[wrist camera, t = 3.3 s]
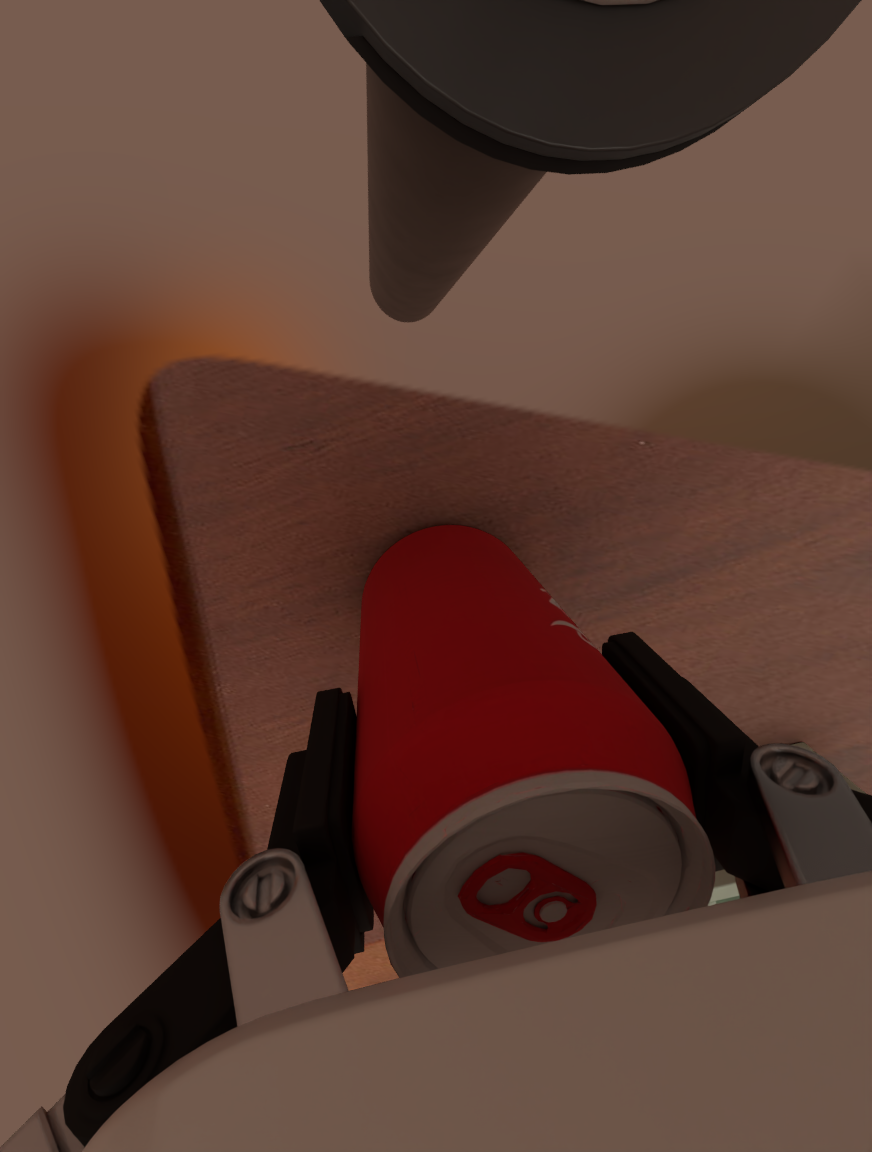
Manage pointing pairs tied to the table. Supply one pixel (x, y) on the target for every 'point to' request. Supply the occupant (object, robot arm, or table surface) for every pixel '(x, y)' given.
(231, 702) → the table surface
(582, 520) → the table surface
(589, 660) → the beverage can
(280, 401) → the table surface
